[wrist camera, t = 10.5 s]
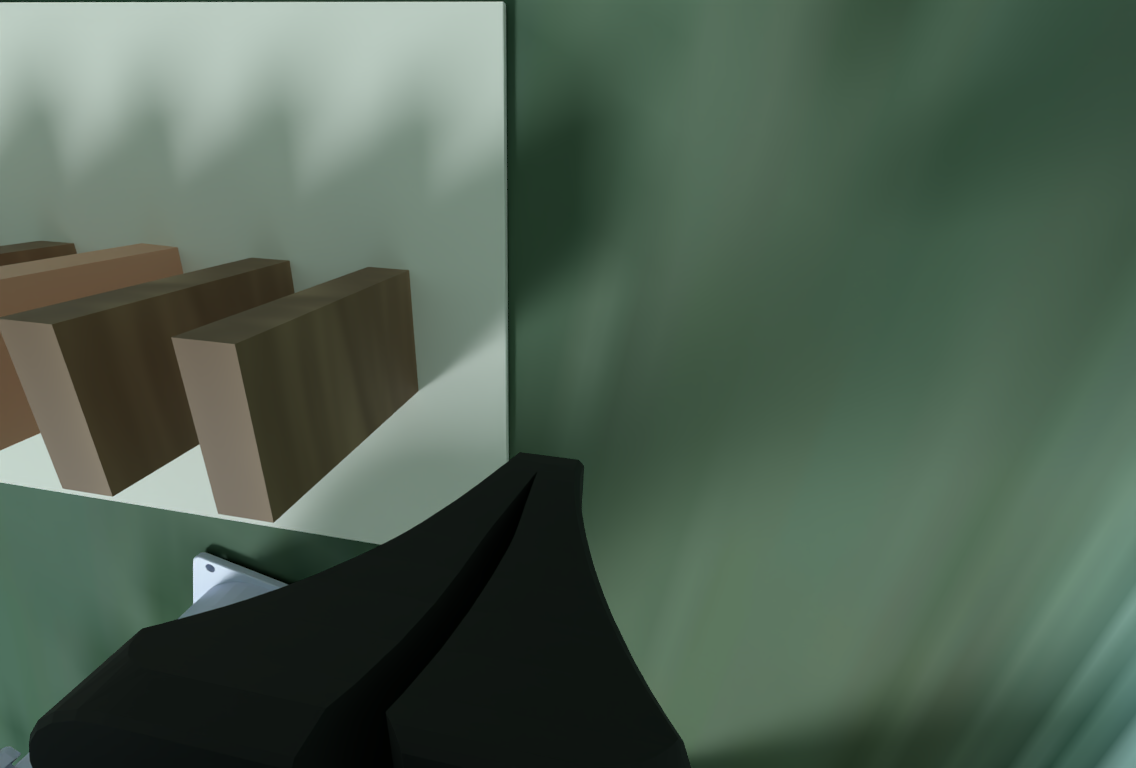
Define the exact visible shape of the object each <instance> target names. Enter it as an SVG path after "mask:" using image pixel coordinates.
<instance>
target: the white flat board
mask: <svg viewBox="0 0 1136 768" xmlns="http://www.w3.org/2000/svg"><path fill="white" fill-rule="evenodd" d="M34 241H52V242H65V243H74V245H75V248H76V252H77V254H79V253H85V252H91V251H97V250H103V249H109V248H116V247H122V246H128V245H134V244H140V243H144V244H153V245H162V246H171V247H178V251H179V255H180V260H181V264H182V269H183V273H188V272H192V271H197V270H201V269H205V268H209V267H214V266H218V265H222V264H226V263H230V262H235V261H239V260H243V259H247V258H264V259H277V260H289V261H290V267H291V273H292V279H293V285H294V291H295V293H296V292H299V291H302V290H305V289H308V288H310V287H313V286H316V285H319V284H322V283H324V282H327V281H330V280H333V279H335V278H338V277H341V276H344V275H347V274H349V273H352V272H355V271H358V270H361V269H363V268H366V267H377V268H390V269H402V270H409V275H410V288H411V300H412V313H413V326H414V339H415V352H416V364H417V377H418V390H419V391H418V392H417V393H416V394H415V395H414V396H413V397H412V398H410V399H409V400H408V401H407V402H406V403H405V404H404V405H403V406H402V407H401V408H399V409H398V410H397V411H396V412H395V413H394V414H393V415H392V416H391V417H390V418H388V419H387V420H386V421H385V422H384V423H383V424H382V425H381V426H380V427H379V428H377V429H376V430H375V431H374V432H373V433H372V434H371V435H370V436H369V437H368V438H366V439H365V440H364V441H363V442H362V443H361V444H360V445H359V446H358V447H357V448H355V449H354V450H353V451H352V452H351V453H350V454H349V455H348V456H347V457H346V458H344V459H343V460H342V461H341V462H340V463H339V464H338V465H337V466H336V467H335V468H333V469H332V470H331V471H330V472H329V473H328V474H327V475H326V476H325V477H324V478H322V479H321V480H320V481H319V482H318V483H317V484H316V485H315V486H314V487H313V488H311V489H310V490H309V491H308V492H307V493H306V494H305V495H304V496H303V497H302V498H301V499H299V500H298V501H297V502H296V503H295V504H294V505H293V506H292V507H291V508H290V509H288V510H287V511H286V512H285V513H284V514H283V515H282V516H281V517H280V518H279V519H277V520H276V521H275V522H274V523H271V522H265V521H259V520H253V519H246V518H240V517H234V516H228V515H222V514H218V512H217V508H216V504H215V500H214V497H213V493H212V489H211V485H210V482H209V478H208V474H207V470H206V467H205V463H204V459H203V455H202V452H201V448H200V444H199V445H198V446H196V447H194V448H193V449H191V450H189V451H188V452H186V453H184V454H183V455H181V456H179V457H178V458H176V459H174V460H173V461H171V462H169V463H168V464H166V465H165V466H163V467H161V468H160V469H158V470H156V471H155V472H153V473H151V474H150V475H148V476H146V477H145V478H143V479H141V480H140V481H138V482H136V483H135V484H133V485H131V486H130V487H128V488H126V489H125V490H123V491H121V492H120V493H118V494H116V495H115V496H113V497H111V496H105V495H99V494H93V493H87V492H80V491H74V490H68V489H63V488H62V486H61V483H60V481H59V478H58V476H57V473H56V471H55V468H54V466H53V463H52V461H51V458H50V456H49V453H48V450H47V448H46V445H45V443H44V440H43V438H42V435H41V433H39V434H37V435H35V436H33V437H30V438H28V439H26V440H23V441H21V442H19V443H16V444H14V445H12V446H10V447H7V448H5V449H3V450H0V482H1V483H8V484H14V485H20V486H26V487H32V488H38V489H44V490H50V491H56V492H63V493H69V494H75V495H81V496H87V497H93V498H99V499H105V500H111V501H117V502H124V503H130V504H136V505H142V506H148V507H154V508H160V509H166V510H172V511H178V512H185V513H191V514H197V515H203V516H209V517H215V518H221V519H227V520H233V521H240V522H246V523H252V524H258V525H264V526H270V527H276V528H282V529H288V530H294V531H301V532H307V533H313V534H319V535H325V536H331V537H337V538H343V539H349V540H355V541H362V542H368V543H374V544H380V545H382V544H384V543H386V542H388V541H389V540H391V539H393V538H395V537H397V536H399V535H401V534H403V533H404V532H406V531H408V530H410V529H411V528H413V527H415V526H416V525H418V524H420V523H421V522H423V521H425V520H426V519H428V518H429V517H431V516H432V515H434V514H435V513H437V512H438V511H440V510H442V509H443V508H445V507H446V506H448V505H449V504H451V503H452V502H454V501H455V500H457V499H458V498H460V497H461V496H462V495H464V494H465V493H467V492H468V491H469V490H471V489H472V488H473V487H475V486H476V485H478V484H479V483H480V482H482V481H483V480H484V479H486V478H487V477H488V476H489V475H491V474H492V473H493V472H495V471H496V470H497V469H499V468H500V467H501V466H503V465H504V464H505V463H506V462H508V461H509V425H508V258H507V90H506V4H505V3H504V2H0V246H4V245H11V244H19V243H26V242H34Z"/></svg>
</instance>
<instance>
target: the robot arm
mask: <svg viewBox="0 0 1136 768" xmlns="http://www.w3.org/2000/svg"><path fill="white" fill-rule="evenodd" d="M583 474H584V465H583V464H582V463H581V462H580V461H579V460H575V459H567V458H559V457H552V456H544V455H537V454H529V453H521V452H520V453H519V454H517V455H516V456H515V457H513V458H512V459H510V460H509V461H508V462H506V463H505V464H504V465H503V466H501V467H500V468H499V469H497V470H496V471H495V472H493V473H492V474H491V475H489V476H488V477H487V478H486V479H484V480H483V481H482V482H480V483H479V484H478V485H476V486H475V487H473V488H472V489H471V490H469V491H468V492H467V493H465V494H464V495H462V496H461V497H460V498H458V499H457V500H455V501H454V502H452V503H451V504H449V505H448V506H446V507H445V508H443V509H442V510H440V511H438V512H437V513H435V514H434V515H432V516H431V517H429V518H428V519H426V520H425V521H423V522H421V523H420V524H418V525H416V526H415V527H413V528H411V529H410V530H408V531H406V532H404V533H403V534H401V535H399V536H397V537H395V538H393V539H391V540H389V541H388V542H386V543H384V544H382V545H380V546H378V547H376V548H374V549H372V550H370V551H368V552H366V553H364V554H362V555H359V556H357V557H355V558H352V559H350V560H348V561H346V562H343V563H341V564H339V565H336V566H334V567H332V568H330V569H327V570H325V571H323V572H320V573H318V574H316V575H313V576H311V577H308V578H306V579H303V580H300V581H298V582H295V583H292V584H290V585H288V584H286V583H283V582H280V581H278V580H275V579H273V578H270V577H268V576H265V575H263V574H260V573H257V572H255V571H252V570H250V569H247V568H245V567H242V566H240V565H237V564H234V563H232V562H229V561H227V560H224V559H222V558H219V557H216V556H214V555H211V554H209V553H205V552H201V553H199V554H198V555H197V556H196V557H195V558H194V559H193V605H192V606H191V607H190V608H189V609H188V610H187V611H186V612H185V613H183V614H182V615H181V616H180V617H179V618H178V619H177V620H174V621H170V622H166V623H163V624H159V625H155V626H151V627H147V628H143V629H141V630H140V631H139V632H138V633H137V634H135V635H134V636H133V637H132V638H131V639H130V640H129V641H127V642H126V643H125V644H124V645H123V646H122V647H121V648H120V649H118V650H117V651H116V652H115V653H114V654H113V655H112V656H110V657H109V658H108V659H107V660H106V661H105V662H104V663H103V664H101V665H100V666H99V667H98V668H97V669H96V670H95V671H93V672H92V673H91V674H90V675H89V676H88V677H87V678H86V679H84V680H83V681H82V682H81V683H80V684H79V685H78V686H77V687H75V688H74V689H73V690H72V691H71V692H70V693H69V694H67V695H66V696H65V697H64V698H63V699H62V700H61V701H60V702H58V703H57V704H56V705H55V706H54V707H53V708H52V709H51V710H49V711H48V712H47V713H46V714H45V715H44V716H43V717H41V718H40V719H39V720H38V722H37V723H36V725H35V727H34V729H33V731H32V732H31V734H30V741H29V753H28V754H27V755H26V756H25V757H24V758H23V759H21V760H20V761H19V762H18V763H17V764H16V765H15V766H13V765H12V763H13V762H14V761H15V760H16V759H17V758H18V757H19V756H20V755H21V753H19V752H18V751H17V750H15V749H14V748H12V747H9V746H7V747H4V748H2V749H1V750H0V768H691V766H690V762H689V759H688V756H687V752H686V749H685V745H684V742H683V740H682V739H681V737H680V736H679V734H678V733H677V731H676V730H675V728H674V727H673V725H672V724H671V722H670V721H669V719H668V718H667V716H666V714H665V713H664V711H663V710H662V708H661V706H660V705H659V703H658V702H657V700H656V698H655V697H654V695H653V693H652V692H651V690H650V688H649V687H648V685H647V683H646V681H645V680H644V678H643V676H642V674H641V672H640V671H639V669H638V667H637V665H636V664H635V662H634V660H633V658H632V656H631V654H630V652H629V650H628V648H627V646H626V643H625V641H624V639H623V637H622V635H621V633H620V631H619V629H618V627H617V625H616V623H615V621H614V619H613V616H612V614H611V612H610V609H609V607H608V604H607V602H606V599H605V597H604V594H603V591H602V588H601V586H600V583H599V580H598V577H597V574H596V571H595V568H594V565H593V561H592V558H591V554H590V550H589V546H588V542H587V538H586V533H585V529H584V523H583V516H582V510H581V508H582V491H583Z"/></svg>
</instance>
